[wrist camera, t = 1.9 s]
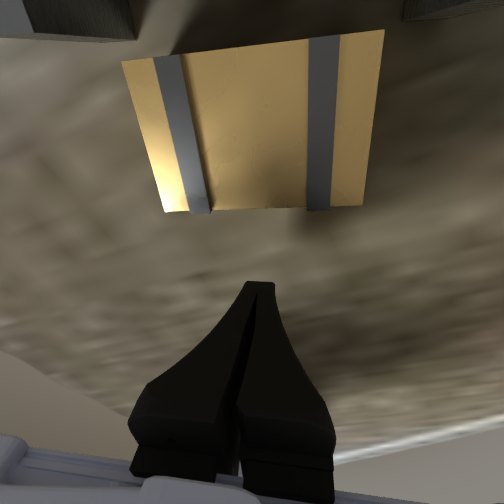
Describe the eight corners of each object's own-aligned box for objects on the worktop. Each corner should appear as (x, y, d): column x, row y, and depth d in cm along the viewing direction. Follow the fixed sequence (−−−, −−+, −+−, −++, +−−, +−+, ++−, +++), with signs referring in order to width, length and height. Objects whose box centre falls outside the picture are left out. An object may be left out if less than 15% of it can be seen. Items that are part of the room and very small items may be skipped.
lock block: (346, 168, 14) (363, 209, 10) (194, 176, 15) (161, 214, 11) (358, 36, 11) (387, 28, 7) (169, 59, 12) (116, 61, 8)
